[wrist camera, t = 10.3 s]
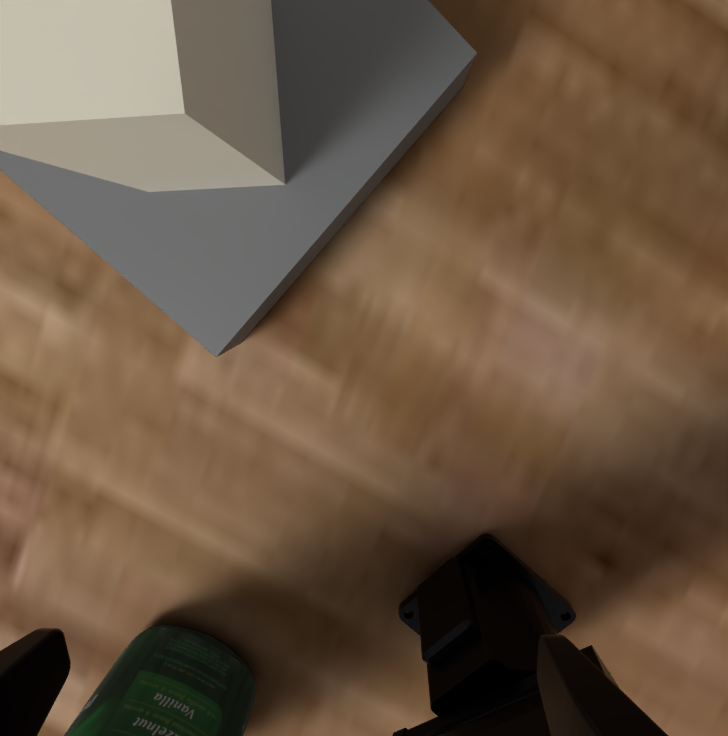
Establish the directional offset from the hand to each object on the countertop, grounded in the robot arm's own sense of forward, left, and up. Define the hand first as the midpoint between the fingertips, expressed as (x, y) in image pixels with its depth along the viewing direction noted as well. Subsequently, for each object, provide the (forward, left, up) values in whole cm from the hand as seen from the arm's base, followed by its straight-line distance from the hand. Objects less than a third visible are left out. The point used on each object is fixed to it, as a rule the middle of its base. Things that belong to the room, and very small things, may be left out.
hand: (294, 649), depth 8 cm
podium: (+12, -6, -13) cm, 19 cm away
